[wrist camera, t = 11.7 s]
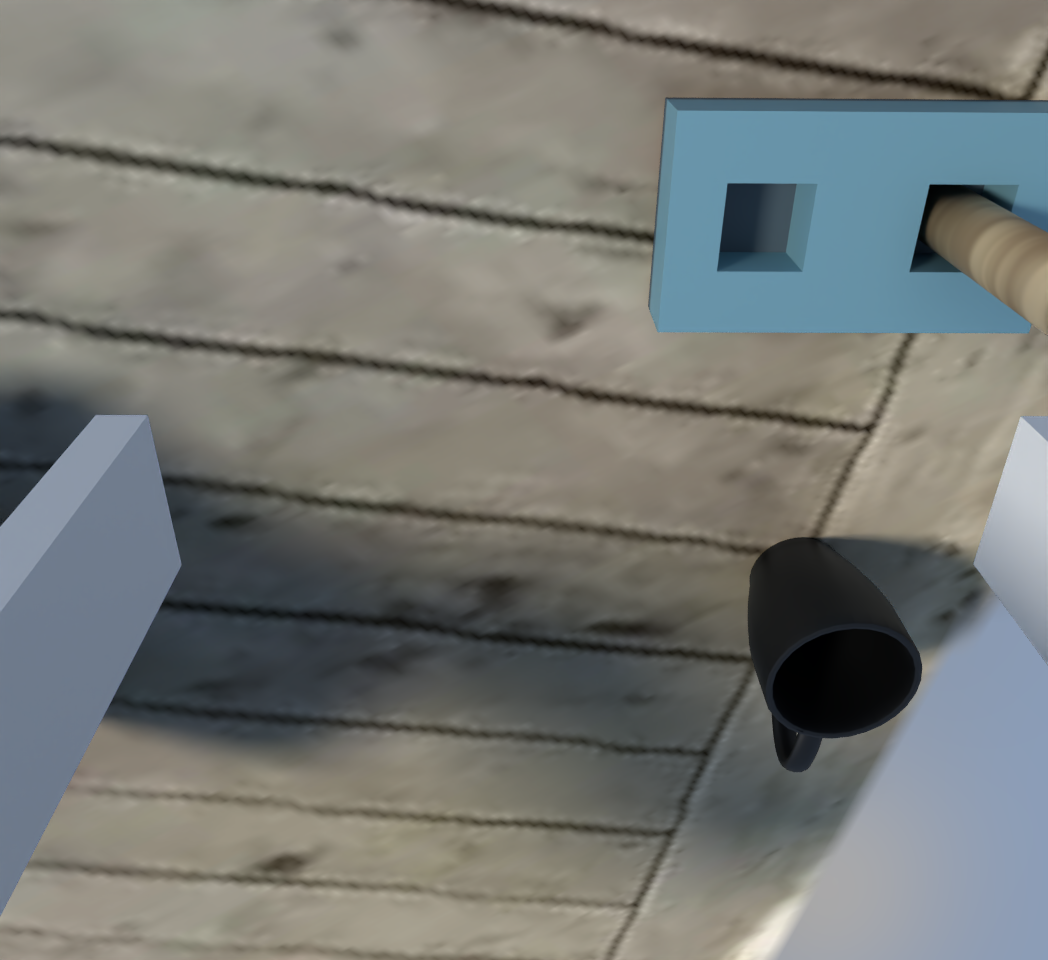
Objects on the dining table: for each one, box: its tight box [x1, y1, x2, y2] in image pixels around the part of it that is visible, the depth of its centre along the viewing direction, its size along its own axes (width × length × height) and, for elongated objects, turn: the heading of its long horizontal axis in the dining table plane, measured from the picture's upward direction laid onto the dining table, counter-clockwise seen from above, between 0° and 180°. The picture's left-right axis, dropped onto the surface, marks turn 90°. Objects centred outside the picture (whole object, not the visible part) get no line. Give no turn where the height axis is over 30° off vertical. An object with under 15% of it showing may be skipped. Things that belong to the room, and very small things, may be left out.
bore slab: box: [648, 98, 1048, 333], centre depth 43 cm, size 18×10×4 cm, turn 89°
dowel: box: [917, 184, 1048, 336], centre depth 38 cm, size 3×3×14 cm
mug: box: [748, 538, 922, 772], centre depth 53 cm, size 8×12×10 cm
